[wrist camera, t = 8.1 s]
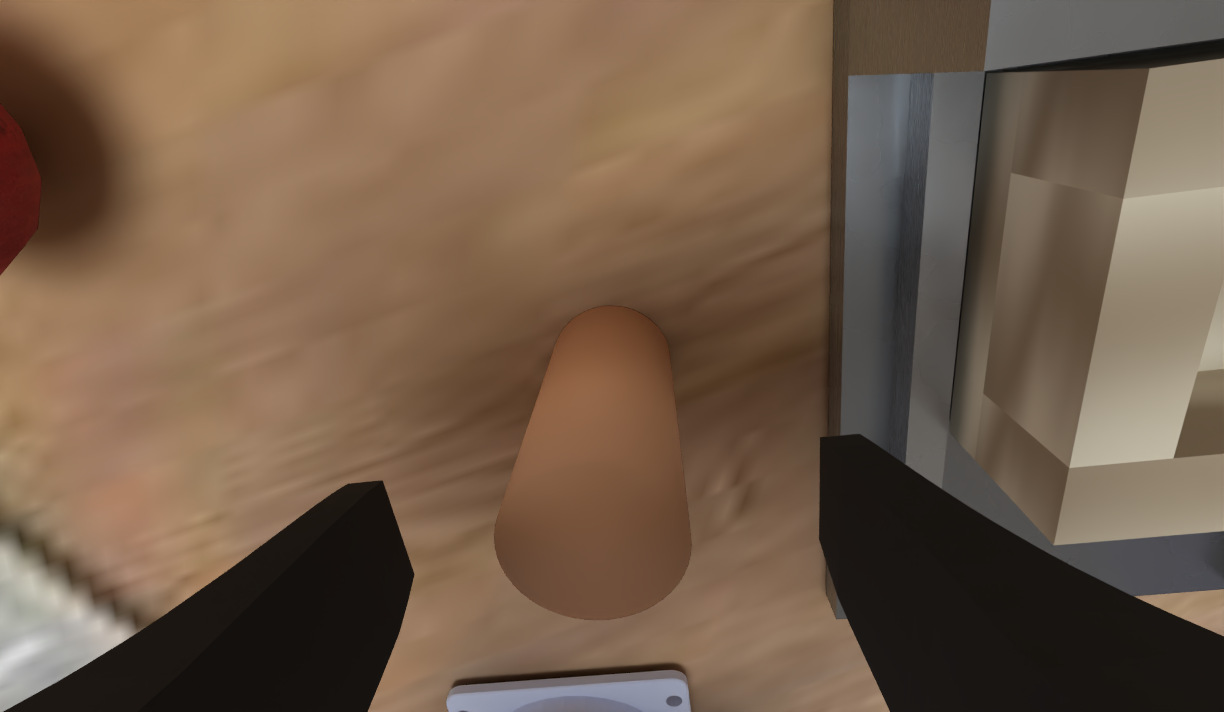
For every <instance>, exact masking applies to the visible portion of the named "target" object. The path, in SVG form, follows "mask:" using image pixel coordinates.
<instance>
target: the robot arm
mask: <svg viewBox="0 0 1224 712" xmlns="http://www.w3.org/2000/svg"><path fill="white" fill-rule="evenodd" d="M819 540H820V543H821V546H822V550H823V553H824V556H825V559H826V563H827V566H828V569H829V572H830V575H831V578H832V581H833V584H834V587H835V590H836V593H837V596H838V599H839V601H840V603H841V606H842V608H843V610H844V612H845V615H846V617H847V619H848V621H849V623H850V626H851V628H852V630H853V632H854V634H855V637H856V639H857V641H858V643H859V645H860V648H861V650H862V652H863V654H864V656H865V658H866V661H867V663H868V665H869V667H870V669H871V671H872V673H873V676H874V678H875V680H876V682H877V684H878V686H879V689H880V691H881V693H882V695H883V697H884V699H885V702H886V704H887V706H888V708H889V710H890V712H1224V636H1221V635H1219V634H1217V633H1214V632H1212V631H1210V630H1208V629H1205V628H1203V627H1201V626H1198V625H1196V624H1194V623H1191V622H1189V621H1187V620H1184V619H1182V618H1180V617H1177V616H1175V615H1173V614H1170V613H1168V612H1166V611H1164V610H1162V609H1160V608H1157V607H1155V606H1153V605H1151V604H1149V603H1146V602H1144V601H1142V600H1140V599H1138V598H1136V597H1134V596H1131V595H1129V594H1127V593H1125V592H1123V591H1121V590H1119V589H1117V588H1115V587H1113V586H1111V585H1109V584H1107V583H1105V582H1103V581H1101V580H1099V579H1097V578H1095V577H1093V576H1091V575H1089V574H1087V573H1085V572H1083V571H1081V570H1079V569H1077V568H1075V567H1073V566H1071V565H1069V564H1068V563H1066V562H1064V561H1062V560H1060V559H1058V558H1056V557H1055V556H1053V555H1051V554H1049V553H1047V552H1045V551H1043V550H1042V549H1040V548H1038V547H1036V546H1035V545H1033V544H1031V543H1030V542H1028V541H1026V540H1024V539H1023V538H1021V537H1019V536H1017V535H1016V534H1014V533H1012V532H1011V531H1009V530H1007V529H1005V528H1004V527H1002V526H1000V525H998V524H997V523H995V522H993V521H992V520H990V519H989V518H987V517H985V516H984V515H982V514H980V513H979V512H977V511H976V510H974V509H972V508H971V507H969V506H968V505H966V504H964V503H963V502H961V501H960V500H958V499H957V498H955V497H953V496H952V495H950V494H949V493H947V492H946V491H944V490H943V489H941V488H940V487H938V486H937V485H935V484H934V483H932V482H931V481H929V480H928V479H926V478H925V477H923V476H922V475H920V474H919V473H917V472H916V471H914V470H913V469H912V468H910V467H909V466H907V465H906V464H904V463H903V462H901V461H900V460H898V459H897V458H895V457H894V456H893V455H891V454H890V453H888V452H887V451H885V450H884V449H882V448H881V447H879V446H878V445H876V444H875V443H873V442H872V441H870V440H869V439H867V438H866V437H864V436H863V435H861V434H851V435H840V436H830V437H820V516H819ZM413 578H414V572H413V569H412V566H411V563H410V560H409V557H408V554H407V551H406V548H405V545H404V542H403V539H402V536H401V533H400V530H399V527H398V524H397V521H396V519H395V516H394V513H393V510H392V507H391V504H390V501H389V498H388V495H387V492H386V489H385V486H384V483H383V480H382V481H372V482H362V483H352V484H347V485H345V486H344V487H342V488H340V489H339V490H337V491H335V492H334V493H333V494H331V495H330V496H328V497H327V498H325V499H324V500H322V501H321V502H320V503H318V504H317V505H315V506H314V507H313V508H311V509H310V510H309V511H307V512H306V513H305V514H303V515H302V516H300V517H299V518H298V519H296V520H295V521H294V522H292V523H291V524H290V525H288V526H287V527H286V528H284V529H283V530H282V531H280V532H279V533H278V534H276V535H275V536H274V537H272V538H271V539H270V540H268V541H267V542H266V543H264V544H263V545H262V546H260V547H259V548H258V549H256V550H255V551H254V552H252V553H251V554H250V555H248V556H247V557H246V558H244V559H243V560H242V561H240V562H239V563H238V564H236V565H235V566H234V567H232V568H231V569H229V570H228V571H227V572H225V573H224V574H222V575H221V576H219V577H218V578H217V579H215V580H214V581H212V582H211V583H209V584H208V585H207V586H205V587H204V588H202V589H201V590H200V591H198V592H197V593H195V594H194V595H192V596H191V597H190V598H188V599H187V600H185V601H184V602H182V603H181V604H180V605H178V606H177V607H175V608H174V609H172V610H171V611H170V612H168V613H167V614H165V615H164V616H162V617H161V618H159V619H158V620H156V621H155V622H153V623H152V624H150V625H149V626H147V627H146V628H144V629H143V630H141V631H140V632H138V633H136V634H135V635H133V636H132V637H130V638H129V639H127V640H126V641H124V642H123V643H121V644H119V645H118V646H116V647H114V648H113V649H111V650H109V651H108V652H106V653H105V654H103V655H101V656H100V657H98V658H96V659H95V660H93V661H92V662H90V663H88V664H87V665H85V666H83V667H82V668H80V669H78V670H77V671H75V672H73V673H72V674H70V675H68V676H67V677H65V678H63V679H61V680H60V681H58V682H56V683H55V684H53V685H51V686H49V687H47V688H45V689H44V690H42V691H40V692H38V693H36V694H35V695H33V696H31V697H29V698H27V699H26V700H24V701H22V702H20V703H18V704H16V705H15V706H13V707H11V708H9V709H7V710H6V711H4V712H368V709H369V707H370V704H371V702H372V700H373V697H374V695H375V692H376V690H377V687H378V685H379V683H380V680H381V678H382V675H383V673H384V670H385V668H386V665H387V663H388V660H389V658H390V655H391V653H392V650H393V648H394V645H395V642H396V640H397V637H398V635H399V632H400V628H401V625H402V621H403V618H404V614H405V611H406V607H407V603H408V599H409V595H410V591H411V586H412V582H413ZM673 695H674V696H673ZM446 705H447V708H448V711H449V712H691V708H690V699H689V690H688V682H687V678H686V676H685V675H684V674H683V673H682V672H679V671H677V670H662V671H649V672H635V673H622V674H608V675H594V676H581V677H567V678H554V679H540V680H527V681H513V682H500V683H486V684H473V685H460V686H456V687H454V688H452V689H451V690H450V692H449V694H448V697H447V700H446Z"/></svg>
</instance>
